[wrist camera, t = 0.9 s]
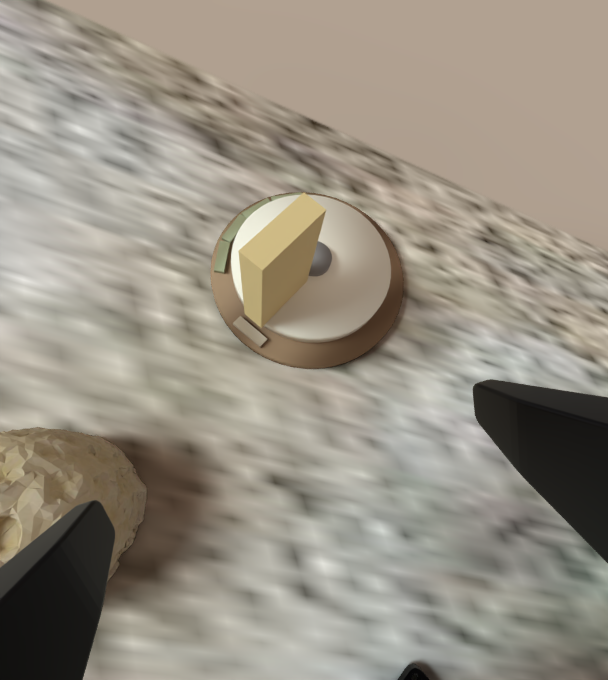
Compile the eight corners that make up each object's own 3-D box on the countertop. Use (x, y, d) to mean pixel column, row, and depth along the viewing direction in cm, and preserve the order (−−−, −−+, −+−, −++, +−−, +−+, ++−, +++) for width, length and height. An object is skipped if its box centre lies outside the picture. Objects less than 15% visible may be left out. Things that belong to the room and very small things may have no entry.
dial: (413, 267, 26) (480, 185, 18) (317, 382, 23) (348, 341, 15) (301, 181, 28) (318, 69, 20) (192, 276, 24) (160, 186, 16)
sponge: (160, 462, 25) (100, 354, 19) (162, 622, 18) (65, 533, 11) (12, 507, 23) (-110, 403, 17) (-55, 710, 16) (-316, 659, 9)
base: (433, 274, 28) (440, 267, 27) (322, 411, 23) (325, 409, 22) (297, 170, 29) (299, 159, 28) (169, 279, 25) (165, 272, 24)
